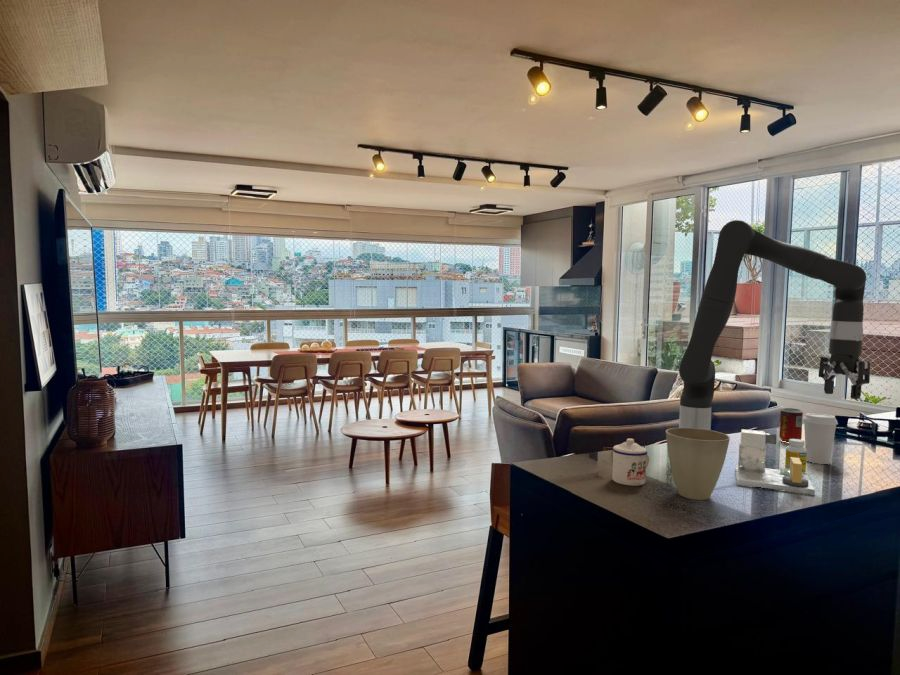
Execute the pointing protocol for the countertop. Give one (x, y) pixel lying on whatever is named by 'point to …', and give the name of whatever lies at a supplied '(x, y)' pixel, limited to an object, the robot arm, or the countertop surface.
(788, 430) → the soda can
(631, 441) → the teacup with lid
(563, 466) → the countertop surface
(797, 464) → the white-tipped yellow pillar
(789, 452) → the supplement bottle
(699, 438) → the plant pot
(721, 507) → the countertop surface
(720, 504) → the countertop surface
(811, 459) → the white tapered bin
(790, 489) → the base
